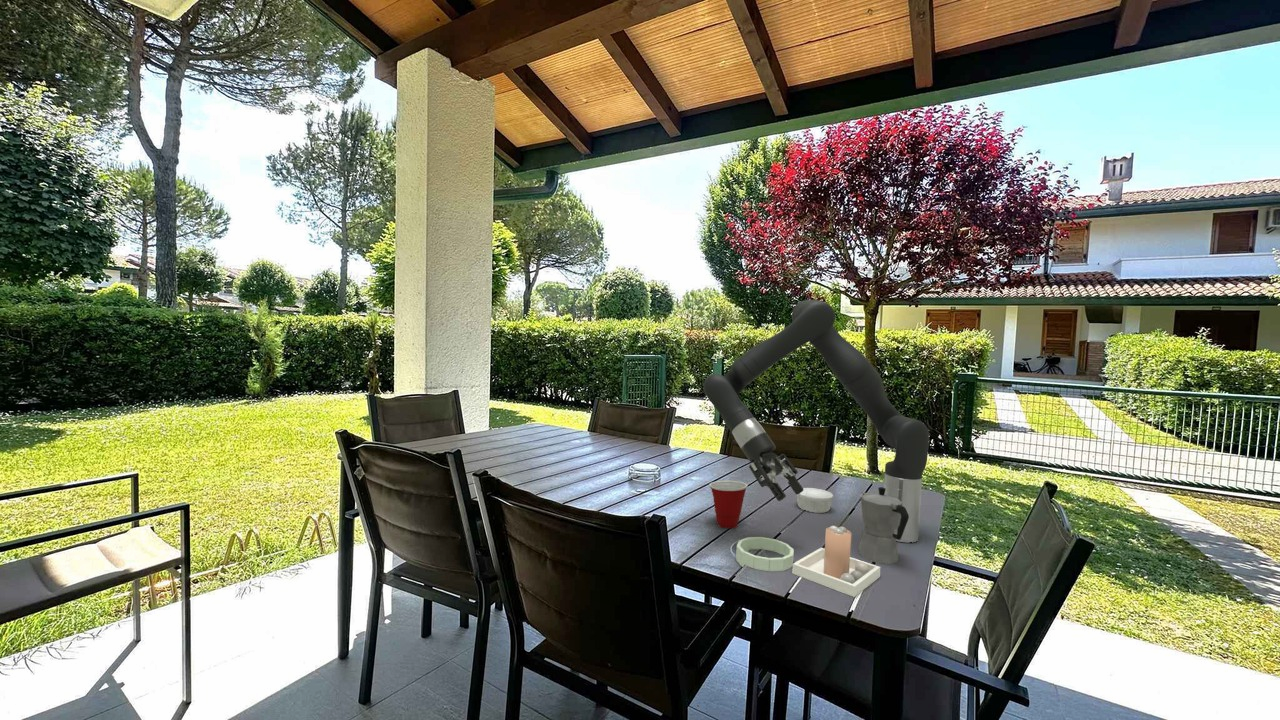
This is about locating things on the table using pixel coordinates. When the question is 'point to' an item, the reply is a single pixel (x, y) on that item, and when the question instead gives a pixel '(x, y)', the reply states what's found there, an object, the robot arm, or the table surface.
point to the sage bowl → (762, 562)
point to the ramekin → (814, 500)
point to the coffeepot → (881, 527)
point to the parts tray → (819, 577)
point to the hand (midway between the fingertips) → (791, 495)
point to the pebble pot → (837, 551)
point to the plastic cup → (728, 501)
